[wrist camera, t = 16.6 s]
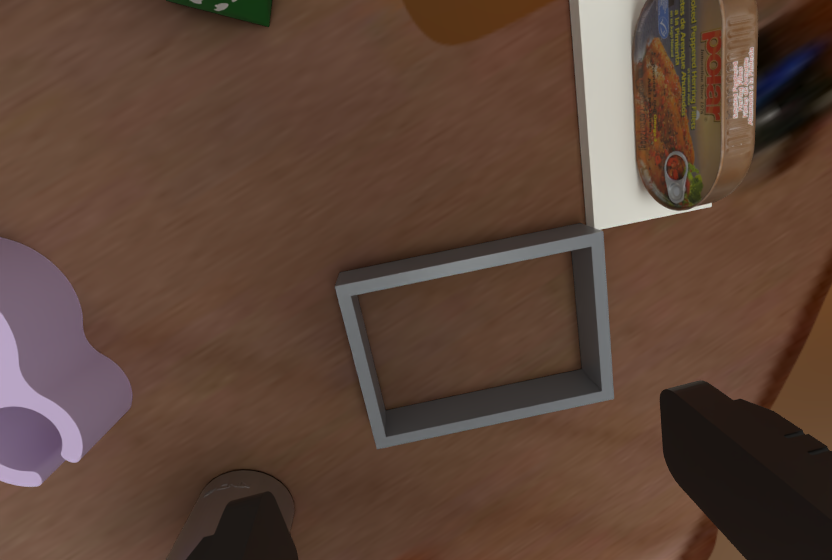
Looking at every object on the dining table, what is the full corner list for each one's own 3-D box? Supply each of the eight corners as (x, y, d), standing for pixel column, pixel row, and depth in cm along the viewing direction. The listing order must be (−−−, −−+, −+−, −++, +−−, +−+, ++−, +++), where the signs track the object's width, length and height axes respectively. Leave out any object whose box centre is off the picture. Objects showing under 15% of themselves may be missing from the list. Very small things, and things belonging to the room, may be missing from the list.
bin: (592, 376, 42) (613, 398, 38) (377, 421, 41) (377, 449, 38) (580, 223, 37) (603, 231, 33) (339, 272, 37) (334, 286, 33)
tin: (628, -3, 31) (714, -57, 23) (671, -11, 31) (771, -67, 23) (636, 204, 36) (710, 220, 28) (673, 197, 36) (758, 210, 28)
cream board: (699, 204, 38) (711, 206, 36) (586, 227, 37) (594, 230, 36) (699, -35, 32) (714, -44, 31) (568, -10, 32) (577, -17, 31)
